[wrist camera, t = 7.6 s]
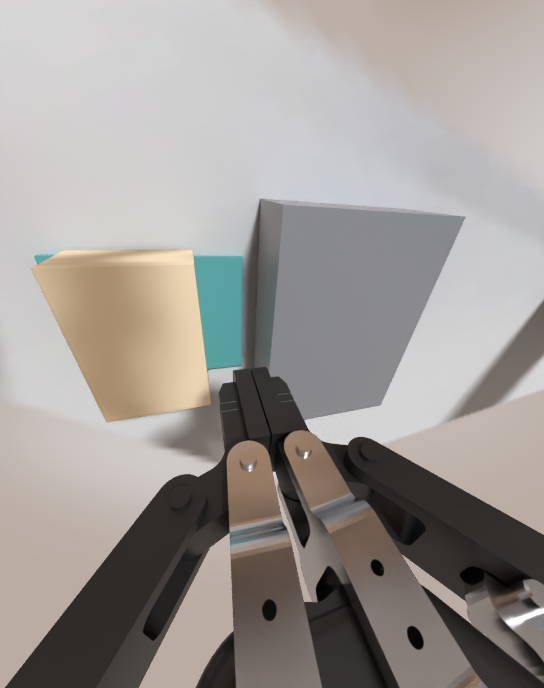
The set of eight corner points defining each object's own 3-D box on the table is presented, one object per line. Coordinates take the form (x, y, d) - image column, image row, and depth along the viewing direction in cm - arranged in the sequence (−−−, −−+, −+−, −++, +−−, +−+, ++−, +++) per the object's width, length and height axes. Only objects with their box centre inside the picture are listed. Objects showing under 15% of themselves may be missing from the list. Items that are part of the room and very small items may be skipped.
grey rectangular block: (409, 209, 16) (465, 216, 12) (354, 374, 23) (380, 405, 20) (260, 198, 13) (283, 204, 10) (252, 389, 21) (264, 427, 17)
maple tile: (30, 268, 9) (63, 250, 12) (106, 422, 14) (118, 387, 17) (193, 264, 11) (193, 249, 13) (211, 404, 16) (208, 375, 18)
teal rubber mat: (241, 256, 14) (242, 257, 14) (241, 362, 19) (242, 365, 18) (37, 254, 12) (33, 256, 11) (92, 379, 16) (90, 382, 16)
